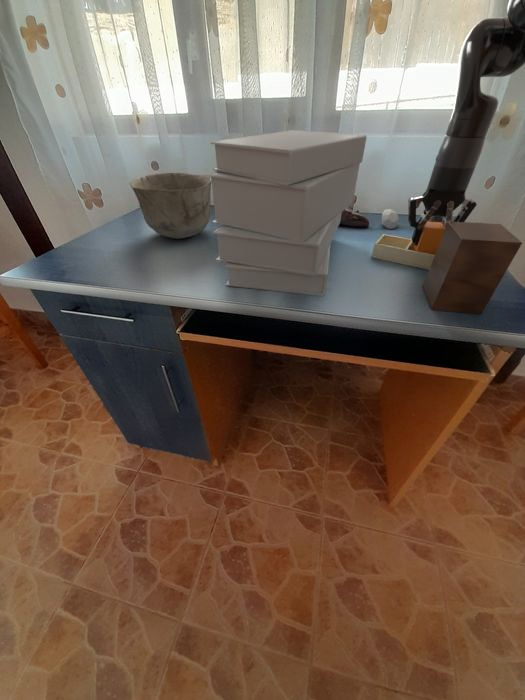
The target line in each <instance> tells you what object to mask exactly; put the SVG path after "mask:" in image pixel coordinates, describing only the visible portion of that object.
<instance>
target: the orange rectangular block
mask: <svg viewBox="0 0 525 700" xmlns="http://www.w3.org/2000/svg"><path fill="white" fill-rule="evenodd" d="M444 230H445V227H444V225H443V224H442V223H441V222H435V221H434V222H427V223H426V224H425V226H424V227H423V229H422V233H421V236H420V239H419V242H418V245H417V246H415V245H413V247H414V249H415V251H418V252H423V253H428V254H436V251H437V248H438V246H439V243H440V241H441V238H442V235H443V233H444Z"/></svg>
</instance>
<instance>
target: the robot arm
mask: <svg viewBox="0 0 525 700" xmlns="http://www.w3.org/2000/svg"><path fill="white" fill-rule="evenodd" d="M506 12H507V17H489V18H488V17H487V18H485V19H482V20H480V21H479V22H478V23H477V24H475V25H474V26H473V27H472V28H471V30H470V31H469V33H468V34H467V36H466V37H465V40H464V42H463V44H462V46H461V49H460V53H459V58H458V65H457V67H458V68H457V81H456V90H455V98H454V104H453V110H452V113H451V117H450V120H449V123H448V126H447V129H446V131H445V135H444V137H443V140H442V143H441V144H440V147H439V150H438V153H437V155H436V157H435V162H434V165H433V168H432V171H431V175H430V178H429V181H428V185H427V187H426V189H425V191H424V193H423V194H422V195H421V196H417V197H414V196H410V197H408V201H407V203H408V205H407V206H408V208H407V209H408V210H407V211H408V215H407V216H408V217H407V218H408V224H409V226H410V227H411V228H414V230H413V233H412V236H411V239H412V242H413V244H414V245H415V246H417V245H418V242H419V239H420V236H421V233H422V229H423V227H424V226H425V224H426V223H427V222H428V221H429V220H430V219H431V217H432V216H437V215H439V216H442V218H443V223H442V224H443V225H444V227H445V228H446V225H447V223H448V221H449V222H466V220H467V219H468V218H469V216H470V215H471V214H472V212H473V211H474V209H475V208H476V207H477V202H476V201H475V200H473V199H472V198H471V199H469V198H466V192H467V189H468V187H469V185H470V181H471V179H472V177H473V174H474V172H475V170H476V167H477V165H478V162H479V159H480V156H481V155H482V151H483V148H484V144H485V141H486V137H487V135H488V133H489V130H490V128H491V125H492V122H493V120H494V118H495V115H496V112H497V110H498V106H499V99H498V98H497V97H496V96H494V95H491V94H487V93H484V92H483V91H482V88H481V87H482V86H481V79H482V78H503V77H507V76H511V75H512V74H514V73H515V72H517V71H518V70H520V69H521V68H522V67H523V66H524V65H525V0H509V2H508V4H507V11H506ZM421 203H422V204H423V206H424V209H423V211H422V212H421V213H420V216H419V218H418V220H417V209H418V208H419V207H420V205H421ZM459 207H460V208H461V209H460V211H459V212H458V213H457V215H456V216H455V218H453V216H454V215H453V214H454V213H453V212H454V211H456V210H457V208H459Z"/></svg>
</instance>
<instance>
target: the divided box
mask: <svg viewBox="0 0 525 700" xmlns="http://www.w3.org/2000/svg"><path fill="white" fill-rule="evenodd" d="M413 245H414V244H413V242H412V238H407V237H402V236H396V235H391V234H386V233H383V234H382V235H381V236H380V237H379V238H378V239H377V240H376V242H374V245H373V249H372V253H371V258H374V259H378V260H382V261H387V262H391V263H396V264H400V265H405V266H410V267H414V268H419V269H423V270H427V271H429V269H430V266H431V264H432V261H433V259H434V256H435V254H428V253H423V252H418V251H415V249H414V247H413Z"/></svg>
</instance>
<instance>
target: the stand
mask: <svg viewBox="0 0 525 700" xmlns="http://www.w3.org/2000/svg"><path fill="white" fill-rule="evenodd" d="M522 245H523V242H522V241H521V240H520V239H519V238H517V236H515V235H514V234H513V233H512V232H511V231H509V230H508V229H507V228H505V226H503V225H502V224H501V223H486V222H469V221H467V222H466V221H465V222H453V221H451V222H449V221H448V223H447V225H446V228H445V230H444V233H443V235H442V238H441V241H440V243H439V246H438V248H437V251H436V254H435V256H434V259H433V261H432V264H431V266H430V269H429V270H428V272H427V274H426V277H425V279H424V282H423V284H422V290H423V293H424V296H425V298H426V300H427V303H428V306H429V308H430V310H431V311H437V312H438V311H439V312H447V313H460V314H471V315H480V316H482V314H483V312H484V311H485V308H486V307H487V306H488V304H489V302H490V300H491V298H492V297H493V295H494V294H495V292H496V290H497V288H498V286H499V284H500V283H501V281H502V280H503V278H504V276H505V274H506V272H507V271H508V269H509V267H510V265H512V262H513V259H514V258H515V257H516V255H517V253H518V252H519V250H520V248H521V246H522Z"/></svg>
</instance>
